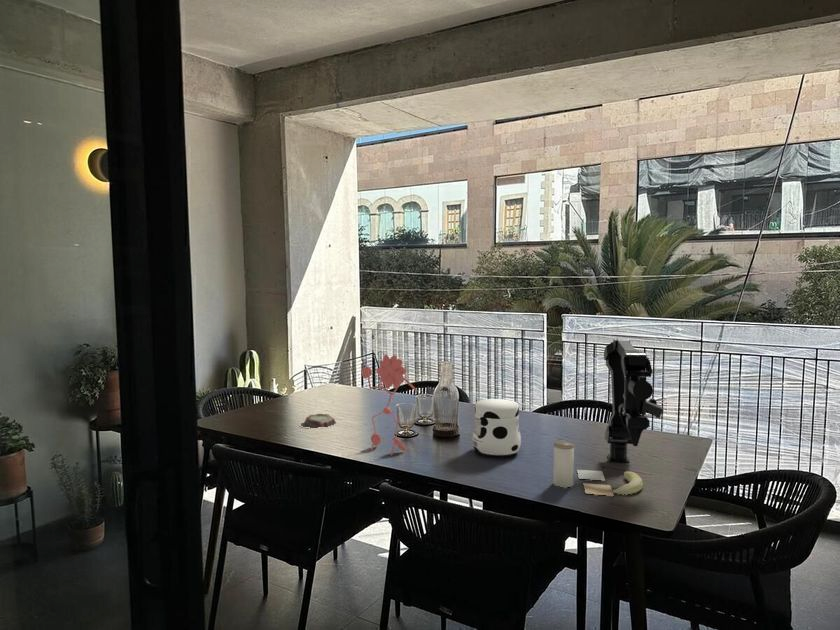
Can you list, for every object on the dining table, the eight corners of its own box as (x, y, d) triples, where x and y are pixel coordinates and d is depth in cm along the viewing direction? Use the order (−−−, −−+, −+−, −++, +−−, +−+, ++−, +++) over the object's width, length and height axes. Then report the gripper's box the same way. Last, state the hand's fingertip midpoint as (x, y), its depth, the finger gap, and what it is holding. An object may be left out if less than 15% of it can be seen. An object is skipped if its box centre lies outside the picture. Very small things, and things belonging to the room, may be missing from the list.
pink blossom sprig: (409, 460, 203) (409, 360, 201) (352, 447, 218) (352, 354, 215) (433, 449, 216) (434, 355, 214) (378, 438, 231) (378, 349, 228)
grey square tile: (576, 470, 193) (576, 469, 193) (602, 472, 192) (602, 471, 192) (578, 479, 186) (578, 478, 186) (605, 481, 184) (605, 480, 184)
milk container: (528, 450, 214) (529, 402, 213) (507, 464, 200) (508, 412, 198) (486, 442, 224) (486, 396, 222) (463, 454, 210) (463, 405, 208)
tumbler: (552, 480, 185) (553, 439, 184) (572, 481, 184) (573, 441, 183) (553, 487, 179) (554, 445, 178) (574, 488, 178) (575, 447, 177)
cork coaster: (583, 484, 181) (583, 483, 181) (610, 486, 180) (610, 485, 180) (585, 494, 174) (585, 493, 174) (613, 496, 172) (613, 495, 172)
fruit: (647, 482, 184) (648, 472, 183) (636, 499, 171) (637, 488, 171) (624, 478, 188) (624, 468, 187) (611, 494, 175) (612, 483, 175)
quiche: (285, 424, 252) (284, 415, 252) (327, 416, 265) (326, 408, 264) (307, 435, 236) (307, 426, 236) (351, 427, 248) (351, 417, 248)
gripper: (668, 400, 173) (666, 452, 174) (654, 387, 191) (653, 434, 192) (628, 399, 175) (627, 450, 176) (619, 386, 193) (617, 433, 194)
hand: (632, 441), depth 185 cm, fingers open, 9 cm apart
